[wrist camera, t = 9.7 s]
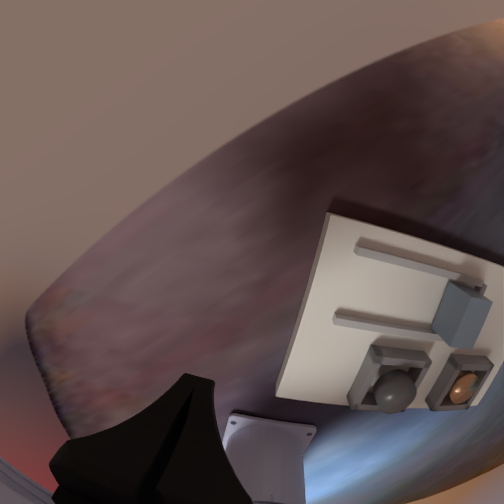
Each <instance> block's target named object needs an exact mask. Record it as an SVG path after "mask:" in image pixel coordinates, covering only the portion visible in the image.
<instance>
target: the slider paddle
mask: <svg viewBox="0 0 504 504" xmlns="http://www.w3.org/2000/svg"><path fill="white" fill-rule="evenodd" d="M492 303H493V302H492V301H491V300H489V299H488V298H486V297H485V296H483V295H482V294H480V293H479V292H477V291H476V290H474V289H473V288H471V287H468V286H464V285H460V284H457V283H453V282H449V283H448V286H447V288H446V291H445V294H444V297H443V299H442V302H441V304H440V307H439V309H438V312H437V314H436V317H435V319H434V322H433V324H432V326H431V327H432V328H433V330H434V331H435V332H436V333H437V334H438V335H439V336H440V337H441V338H442V339H443V340H444V341H445V343H446V344H447V345H448V346H449V347H454V348H465V349H472V348H473V346H474V344H475V342H476V340H477V338H478V336H479V334H480V332H481V329H482V327H483V325H484V322H485V320H486V318H487V315H488V313H489V311H490V308H491V306H492Z"/></svg>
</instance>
